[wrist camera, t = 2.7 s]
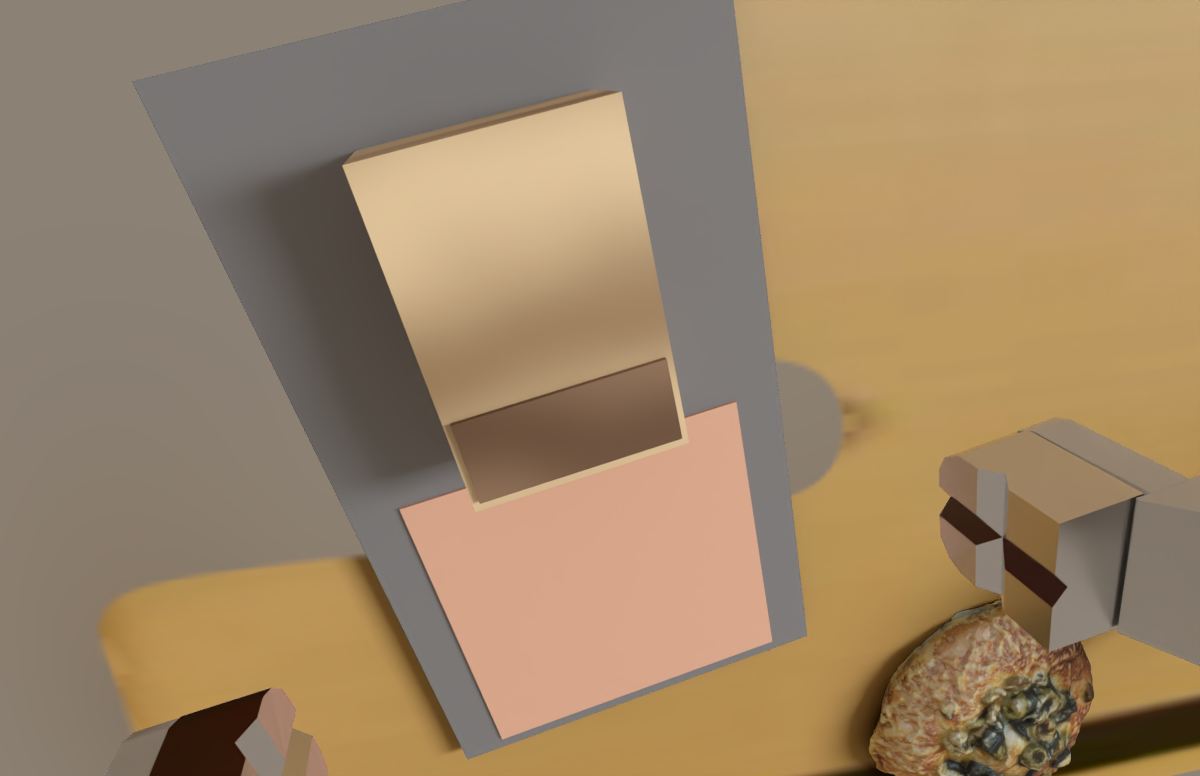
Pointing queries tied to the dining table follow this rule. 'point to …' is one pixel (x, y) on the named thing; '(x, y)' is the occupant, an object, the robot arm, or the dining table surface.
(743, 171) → the mat
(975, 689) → the bread roll
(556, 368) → the beige curved block
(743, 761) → the dining table surface
